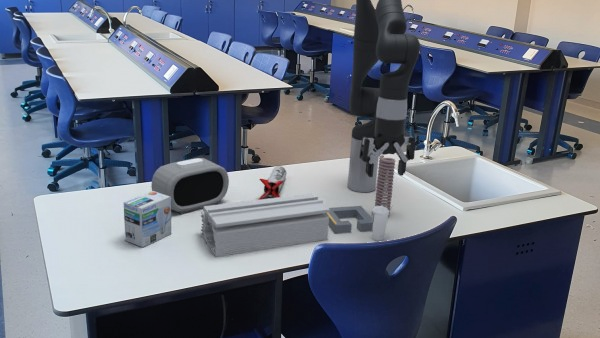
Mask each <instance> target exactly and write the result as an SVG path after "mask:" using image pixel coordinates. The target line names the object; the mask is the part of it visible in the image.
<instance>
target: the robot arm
mask: <svg viewBox="0 0 600 338" xmlns="http://www.w3.org/2000/svg"><path fill="white" fill-rule="evenodd" d="M355 1H356V5H355V20H354V29H353V45H352V46H353V49H352V50H353V53H352V55H353V57H352V58H353V60H352V75H351V85H350V95H349V103H348V105H349V106H348V107H349V112H350V114H351V115H352V116H355V117H365V118H372V119H371V120H369V121H367V122H365V123H363V124H359V125H355V126H354V127H353V128H351V129H352V130H351V139H350V150H349V151H350V152H349V162H348V164H349V166H348V176H347V188H348V189H349V190H351V191H354V192H358V193H370V192H373V191H375V190H376V189H377V188H376V187H377V177H378V170H379V169H378V167H379V157H380V156H381V155H384V156H385V155H389V154H390V155H395V154H396V155H397V156H398V158H399V160H398V164H397V174H398V175H399V176H402V177H403V176H404V174H405V173H406V172H407V171H406V170H407V162H408V161H412V160H415V150H416V148H415V147H416V138H415V137H413V136H412V135H411V134H409V135H407V136H404V135H405V132H406V131H405V130H406V121H407V115H408V93H409V84H410V80H411V77H412V74H413V71H414V68H415V66H416V63H417V60H418V59H419V56H420V53H421V43H420V40H419V38H418V37H417V36H416V35H414V34H407V33H406V31H407V28H408V26H407V25H408V24H407V19H406V16H405V12H404V9H403V4H402V0H378V1H377V4H376V7H374V5H373V2H372V0H355ZM405 33H406V34H405ZM379 61H380V62H381V63H383V64H397V65H398V64H400V66H399V67H398V68H397V69H396V70H394V71H390V72H385V73H383V74H381V76H380V80H379V87H368V86H367V87H365V86H362V85H363V82H364V80H365V78H366V77H367V75H368V74H369V73H370V71H371V70H372V69H374V68H373V67H375V65H377V63H378V62H379ZM404 143H405V145H406V150H405V152H404V151H403V149H402V146H403V145H404ZM405 153H406V154H405Z"/></svg>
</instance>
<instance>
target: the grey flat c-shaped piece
mask: <svg viewBox="0 0 600 338" xmlns="http://www.w3.org/2000/svg"><path fill="white" fill-rule="evenodd" d="M328 208H329V209H330V212H329V213H325V214H326V215H327V216H328V217H329V225H328V226H329V228H330V229H331V231H332V232H333V234H345V233H346V234H347V233H352V227H353V225H352V222H351V221H350V220H341V219H349V218H355V219H356V220H357V221H356V229H357V230H358V232H372V215H370V214H369V212H368V211H366V209H364V208H363V206H362V205H353V206H337V207H328Z"/></svg>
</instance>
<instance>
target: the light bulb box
mask: <svg viewBox="0 0 600 338" xmlns="http://www.w3.org/2000/svg"><path fill="white" fill-rule="evenodd" d="M123 219H124V223H123V224H124V238H125V239H124V240H125V241H126V242H128V243H131V244H133V245H135V246H137V247H141V248H145V247H147V246H149V245H151V244H153V243H155V242H157V241H160V240H162V239H164V238H166V237H168V236H171V235H172V209H171V197H170V196H167V195H164V194H161V193H158V192H155V191H152V190H151V191H150V192H147V193H144V194H141V195H139V196H137V197H134V198H131V199H129V200H125V201H123Z"/></svg>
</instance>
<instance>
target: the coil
mask: <svg viewBox="0 0 600 338" xmlns="http://www.w3.org/2000/svg"><path fill="white" fill-rule="evenodd" d="M395 166H396V159H395V158H392V157H385V155H383V154H381V155H380V156H379V158H378V169H377V178H376V188H375V190H376V192H375V199H374V201H375V202H374V207H375V206H384V207H386V208H387V209H388V210H390V209H391V207H392V205H391V203H392V195H393V193H392V192H393V187H394V183H393V182H394V177H395V176H394V175H395V169H396V168H395ZM390 214H391V210H390V211H389V215H390Z"/></svg>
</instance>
